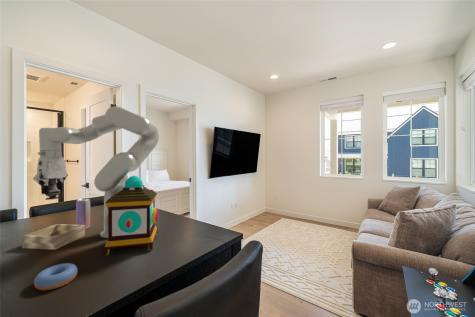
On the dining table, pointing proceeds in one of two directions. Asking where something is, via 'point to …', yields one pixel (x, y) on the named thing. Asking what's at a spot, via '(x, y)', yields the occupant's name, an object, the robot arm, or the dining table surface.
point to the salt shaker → (52, 190)
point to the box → (53, 236)
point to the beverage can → (83, 212)
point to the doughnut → (55, 276)
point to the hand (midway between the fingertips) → (52, 192)
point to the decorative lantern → (131, 216)
